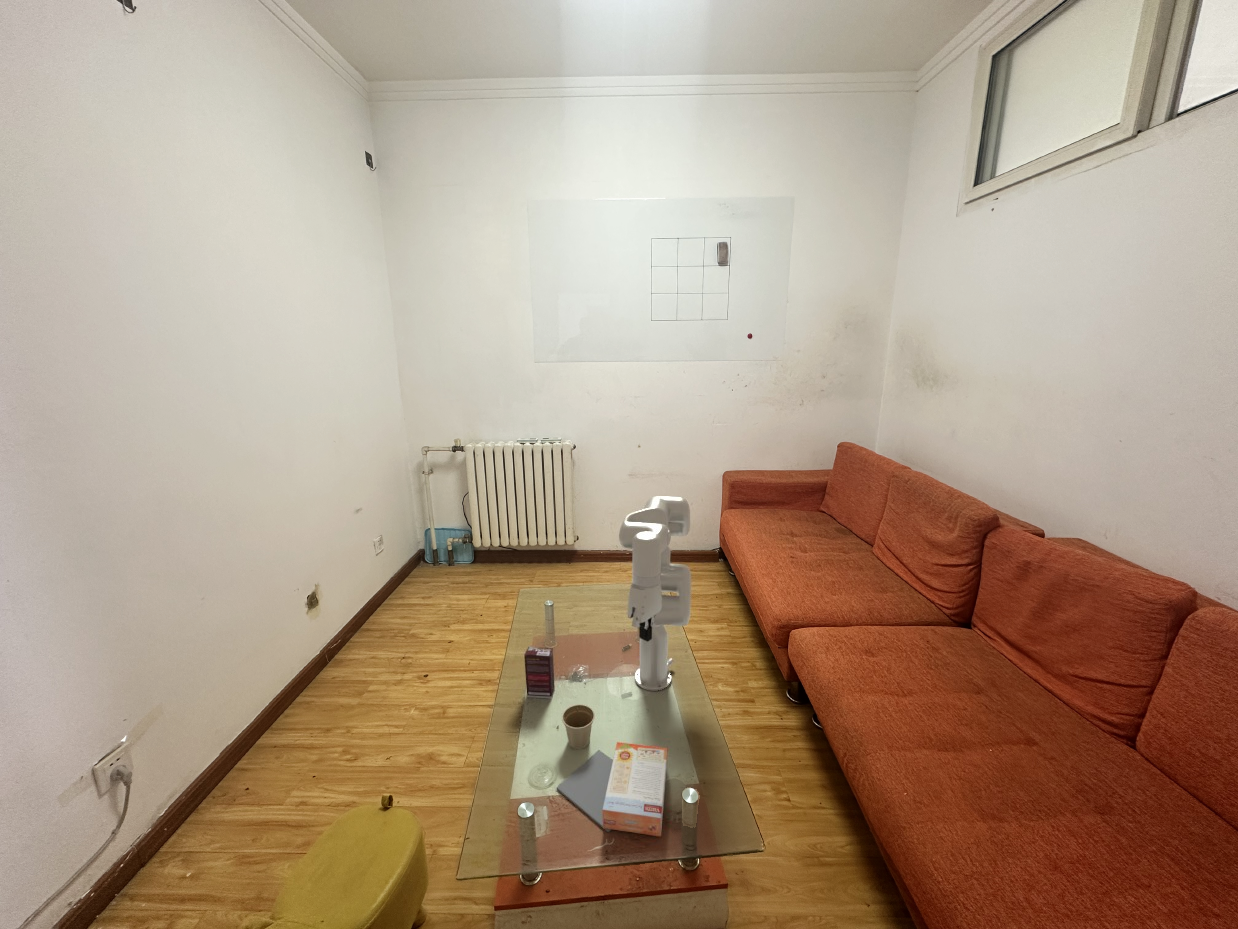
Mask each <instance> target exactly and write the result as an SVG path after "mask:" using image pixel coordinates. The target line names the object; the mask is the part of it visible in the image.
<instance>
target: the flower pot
mask: <svg viewBox="0 0 1238 929" xmlns="http://www.w3.org/2000/svg"><path fill="white" fill-rule="evenodd" d="M561 714H562V715H561V721H562V723H563V725H564V727H565V731H566V736H567V741H568V744H569V746H570V747H571V748H572V749H576V750H580V749H584V748H585V747H587V746H589V744H590V741H591V732H592V726H593V722H594V720H595V717H596V715H595V711H594V709H593V708H591V707H590V706H588V705H586V704H574V705H571V706H569V707H567V708H566V709H565V710H564V711H563V713H561Z"/></svg>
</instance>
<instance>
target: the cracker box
mask: <svg viewBox="0 0 1238 929" xmlns="http://www.w3.org/2000/svg"><path fill="white" fill-rule="evenodd" d="M614 749H615V751H614V755H613V758H612V760H613V763H612V768H611V772H610V777H609V782H608V786H607V791H606V796H605V800H604V805H603V809H602V811H603V828H607V829H611V830H616V831H621V832H628V833H633V834H634V833H635V834H640V835H642V834H643V835H646V836H647V835H648V836H654V837H661V836H662V825H663V817H664V816H663V813H664V802H665V791H666V778H667V777H666V776H667V765H668V764H667V763H668V761H667V760H668V748H667V747H662V746H661V747H660V746H652V745H646V744H645V745H643V744H636V743H635V744H634V743H628V742H620V741H618V742H616V745H615V748H614ZM603 828H602V829H603Z"/></svg>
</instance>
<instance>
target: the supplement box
mask: <svg viewBox="0 0 1238 929" xmlns="http://www.w3.org/2000/svg"><path fill="white" fill-rule="evenodd" d="M553 649H554V648H553V647H539V646H527V648H526V650H525V652H524V654H523V655H524V656H523V657H524V672H525V684H526V686H525V689H526V697H527V698H532V699H534V698H536V699H553V697H554V692H555V689H556V688H555V668H554V665H555V664H554V650H553Z"/></svg>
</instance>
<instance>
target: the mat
mask: <svg viewBox="0 0 1238 929" xmlns="http://www.w3.org/2000/svg"><path fill="white" fill-rule="evenodd" d="M612 763H613V758H611V757H609V756H608V755H607V754H605V753H604V752H603V751H601V750H600V749H598V750H596V752H594V753H593V754H592V755H591V756H590V757H588V759H586V760H585V761H584V762H583V763H582V764H581V765H580V766H579V767H578V768H577V769H576V770H574V771H573V772H572V773H571V774H570V775H569V776H567V778H565V779H564V780H563V781H562V782H561V783H560V784H558V785H557V787H556V790H557V791H558V792H559V793H561V794H562V795H563V796H564V797H565V798H567V799H568V800H569V801H570V802H571V803H573V804H574V805H575V806H576V807H577V808H579V810H581V811H582V812H583V813H585V814H586V815H587V816H588V817H589V818H590V819H591V820H592V821H594V822H595V823H596V824H598V826H600V827H601V828H602V829H604V831H606V832H607V833H610V832H611V830H612V829H607V828H603V811H602V809H603V805H604V800H605V796H606V791H607V786H608V782H609V777H610V772H611V768H612Z"/></svg>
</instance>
